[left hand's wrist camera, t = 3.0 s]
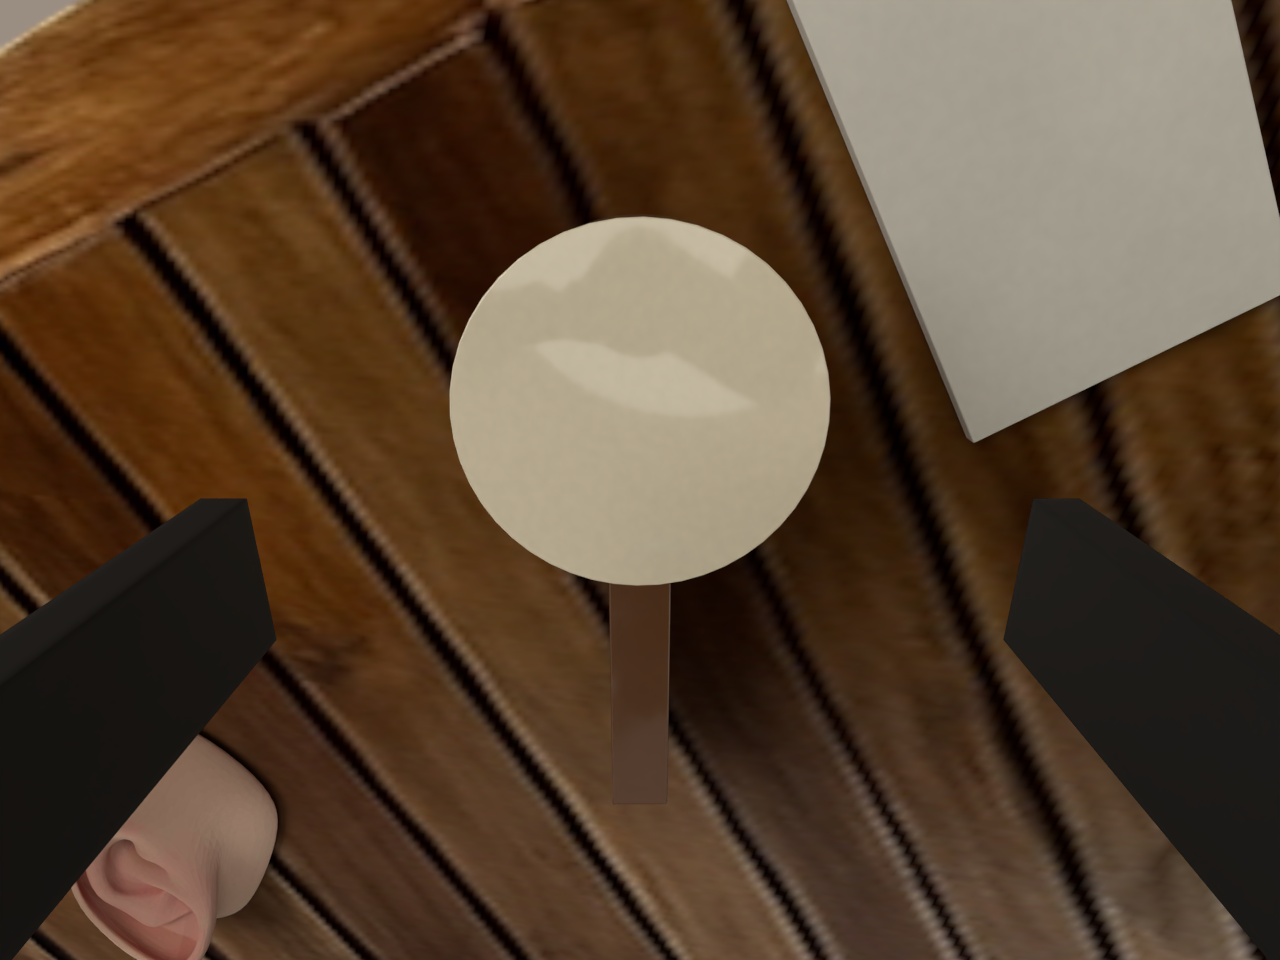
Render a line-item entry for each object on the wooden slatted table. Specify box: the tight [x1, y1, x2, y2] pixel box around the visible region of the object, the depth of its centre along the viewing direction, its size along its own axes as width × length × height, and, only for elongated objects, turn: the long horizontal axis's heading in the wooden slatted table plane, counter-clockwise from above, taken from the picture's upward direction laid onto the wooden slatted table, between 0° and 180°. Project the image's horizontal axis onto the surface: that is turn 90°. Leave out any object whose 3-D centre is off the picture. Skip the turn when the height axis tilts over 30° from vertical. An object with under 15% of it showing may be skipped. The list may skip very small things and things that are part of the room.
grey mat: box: [787, 0, 1280, 443], centre depth 29 cm, size 20×14×1 cm
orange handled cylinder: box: [609, 583, 671, 804], centre depth 31 cm, size 24×8×8 cm, turn 0°
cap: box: [450, 214, 831, 586], centre depth 23 cm, size 11×11×4 cm
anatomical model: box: [71, 734, 278, 960], centre depth 39 cm, size 13×4×12 cm
